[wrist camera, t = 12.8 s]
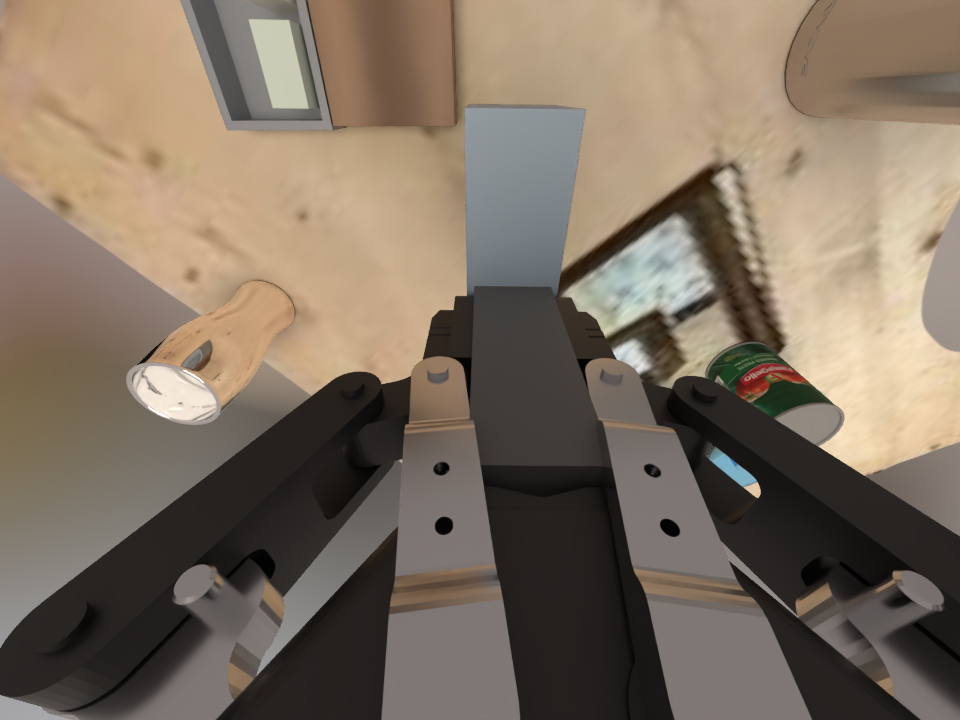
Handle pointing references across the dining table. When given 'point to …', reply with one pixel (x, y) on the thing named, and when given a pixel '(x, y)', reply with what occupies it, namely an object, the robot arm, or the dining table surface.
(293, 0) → the tile
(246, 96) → the box
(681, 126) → the dining table surface
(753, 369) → the canned tomato
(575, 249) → the dining table surface
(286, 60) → the tile
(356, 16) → the brown wooden block
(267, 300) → the beer glass
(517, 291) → the scraper
